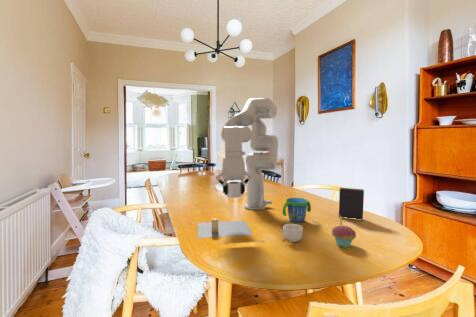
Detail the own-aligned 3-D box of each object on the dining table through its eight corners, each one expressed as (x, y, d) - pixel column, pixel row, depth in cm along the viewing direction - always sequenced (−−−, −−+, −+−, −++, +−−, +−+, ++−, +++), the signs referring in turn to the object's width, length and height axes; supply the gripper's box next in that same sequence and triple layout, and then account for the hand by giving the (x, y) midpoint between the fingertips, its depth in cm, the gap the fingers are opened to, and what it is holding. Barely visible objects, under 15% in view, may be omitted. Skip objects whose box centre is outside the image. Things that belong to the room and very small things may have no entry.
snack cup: (288, 225, 122) (288, 204, 121) (277, 218, 132) (277, 198, 131) (316, 222, 127) (317, 201, 126) (304, 215, 137) (304, 196, 136)
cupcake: (344, 251, 95) (345, 218, 94) (326, 242, 103) (327, 212, 101) (360, 246, 99) (361, 215, 98) (342, 238, 107) (343, 209, 105)
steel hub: (240, 193, 123) (240, 180, 122) (242, 197, 116) (242, 183, 115) (225, 194, 122) (225, 181, 121) (227, 197, 115) (226, 184, 114)
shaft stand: (245, 223, 124) (245, 209, 124) (252, 238, 107) (252, 221, 106) (198, 226, 121) (197, 211, 120) (198, 241, 103) (197, 224, 103)
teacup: (299, 245, 100) (300, 231, 99) (280, 241, 103) (280, 228, 103) (305, 236, 109) (305, 223, 108) (287, 233, 112) (287, 221, 112)
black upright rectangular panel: (362, 218, 132) (363, 189, 131) (362, 221, 128) (363, 190, 127) (339, 215, 137) (340, 187, 135) (338, 218, 133) (339, 188, 132)
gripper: (251, 153, 122) (251, 191, 124) (213, 154, 119) (214, 192, 121) (254, 155, 114) (254, 195, 116) (214, 155, 112) (215, 196, 114)
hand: (233, 193), depth 119 cm, fingers closed on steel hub, 7 cm apart
